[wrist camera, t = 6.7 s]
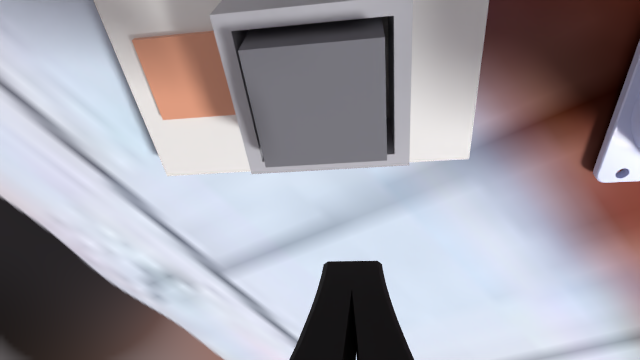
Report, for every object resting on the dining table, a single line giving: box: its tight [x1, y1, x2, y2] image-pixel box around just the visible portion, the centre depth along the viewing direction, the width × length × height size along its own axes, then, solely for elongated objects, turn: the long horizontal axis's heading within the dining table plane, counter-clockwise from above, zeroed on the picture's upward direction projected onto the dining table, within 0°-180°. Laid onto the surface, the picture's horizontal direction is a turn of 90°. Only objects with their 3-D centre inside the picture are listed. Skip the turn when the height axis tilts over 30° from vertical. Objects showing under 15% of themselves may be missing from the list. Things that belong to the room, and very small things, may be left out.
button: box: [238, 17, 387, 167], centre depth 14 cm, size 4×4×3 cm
